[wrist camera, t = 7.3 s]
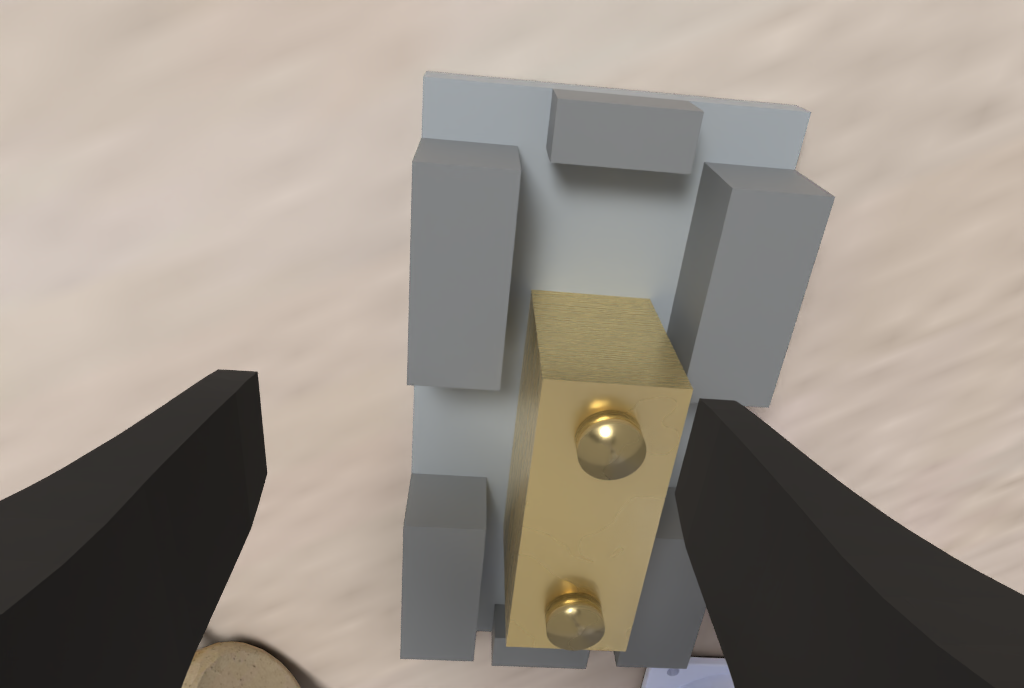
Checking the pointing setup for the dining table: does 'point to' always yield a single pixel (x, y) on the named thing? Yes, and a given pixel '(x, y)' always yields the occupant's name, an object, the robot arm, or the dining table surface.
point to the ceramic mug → (237, 668)
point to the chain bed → (588, 270)
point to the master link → (588, 468)
